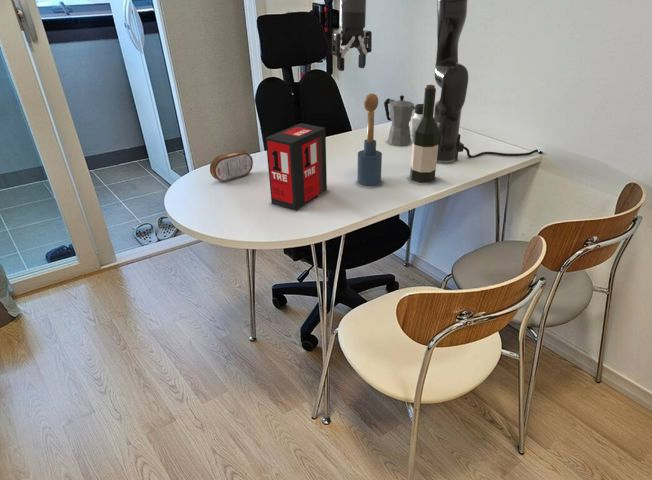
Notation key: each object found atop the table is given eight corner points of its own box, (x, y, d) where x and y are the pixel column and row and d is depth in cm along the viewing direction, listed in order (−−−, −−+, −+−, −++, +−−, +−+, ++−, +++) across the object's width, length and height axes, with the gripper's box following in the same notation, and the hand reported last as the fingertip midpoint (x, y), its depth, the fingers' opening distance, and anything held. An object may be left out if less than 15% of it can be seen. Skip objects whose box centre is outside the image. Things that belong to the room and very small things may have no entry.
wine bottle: (418, 186, 160) (426, 89, 143) (404, 177, 166) (411, 83, 149) (439, 182, 163) (450, 87, 147) (425, 173, 169) (434, 81, 153)
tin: (250, 171, 169) (247, 146, 164) (255, 173, 167) (253, 149, 163) (211, 182, 160) (207, 157, 156) (216, 185, 158) (212, 160, 154)
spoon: (361, 182, 161) (362, 94, 145) (372, 178, 164) (375, 91, 148) (365, 184, 159) (367, 95, 144) (376, 180, 162) (380, 93, 147)
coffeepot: (419, 143, 195) (423, 96, 185) (403, 149, 190) (407, 100, 180) (391, 134, 204) (393, 89, 194) (375, 139, 199) (376, 93, 189)
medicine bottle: (428, 137, 203) (431, 107, 196) (410, 135, 204) (413, 106, 197) (429, 132, 208) (432, 102, 202) (412, 130, 209) (414, 101, 203)
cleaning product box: (295, 210, 144) (291, 143, 133) (271, 203, 148) (265, 137, 137) (326, 191, 156) (325, 127, 145) (303, 185, 160) (300, 123, 148)
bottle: (376, 177, 166) (377, 136, 158) (383, 186, 160) (385, 143, 152) (354, 180, 164) (355, 138, 156) (361, 188, 158) (362, 145, 150)
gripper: (343, 11, 137) (342, 73, 146) (379, 10, 145) (376, 68, 154) (325, 9, 142) (325, 69, 151) (362, 7, 150) (360, 65, 159)
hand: (351, 69), depth 152 cm, fingers open, 8 cm apart
